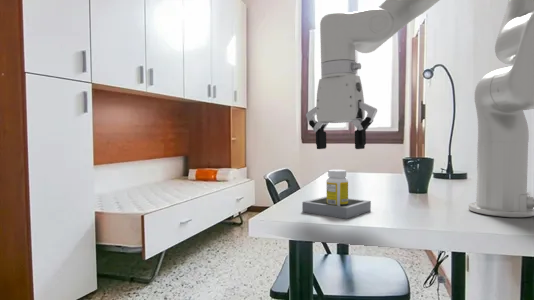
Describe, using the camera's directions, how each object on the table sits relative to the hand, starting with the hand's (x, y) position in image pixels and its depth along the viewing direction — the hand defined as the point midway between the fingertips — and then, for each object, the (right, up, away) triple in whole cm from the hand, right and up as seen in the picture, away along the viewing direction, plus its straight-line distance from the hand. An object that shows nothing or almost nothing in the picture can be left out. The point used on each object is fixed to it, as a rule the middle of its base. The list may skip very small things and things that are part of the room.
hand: (340, 148), depth 85 cm
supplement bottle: (-1, -13, +1) cm, 13 cm away
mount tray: (-1, -14, +1) cm, 14 cm away
